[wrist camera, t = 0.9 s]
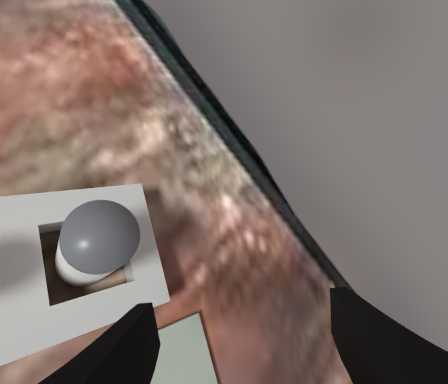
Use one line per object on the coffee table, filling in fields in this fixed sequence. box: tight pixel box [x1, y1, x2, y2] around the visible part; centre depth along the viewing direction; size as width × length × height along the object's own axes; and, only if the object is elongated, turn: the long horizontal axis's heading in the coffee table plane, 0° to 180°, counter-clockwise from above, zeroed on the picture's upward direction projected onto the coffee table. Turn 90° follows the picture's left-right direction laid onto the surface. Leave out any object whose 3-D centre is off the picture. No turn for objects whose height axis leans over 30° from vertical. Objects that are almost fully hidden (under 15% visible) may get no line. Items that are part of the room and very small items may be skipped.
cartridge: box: [55, 200, 140, 287], centre depth 18 cm, size 4×4×8 cm
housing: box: [0, 184, 170, 366], centre depth 18 cm, size 16×10×2 cm, turn 109°
